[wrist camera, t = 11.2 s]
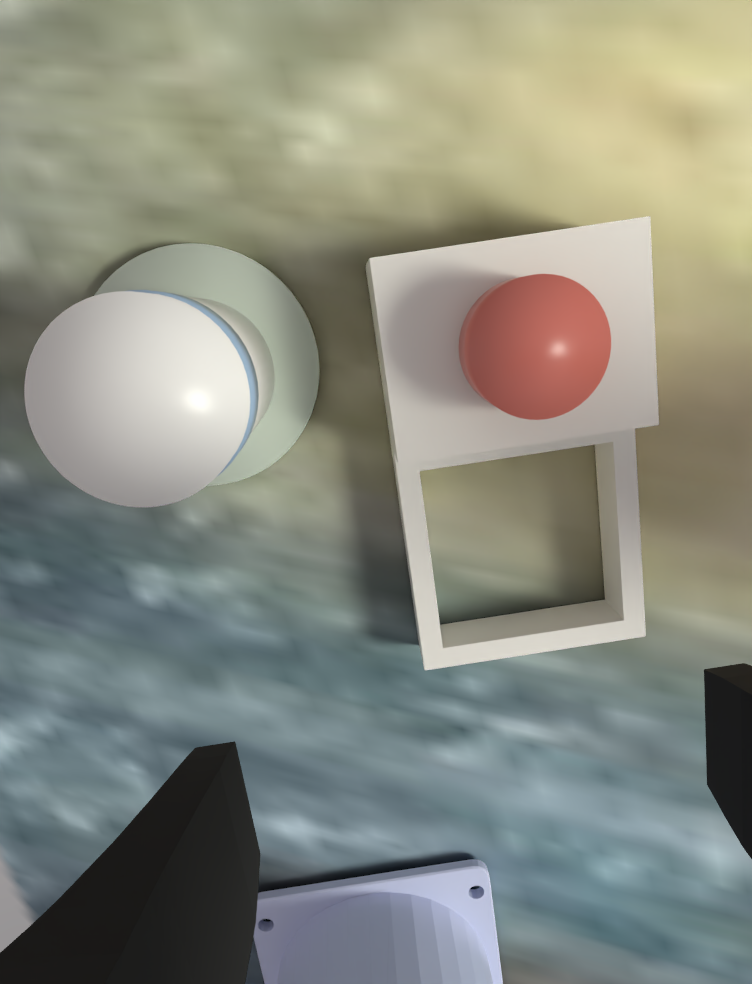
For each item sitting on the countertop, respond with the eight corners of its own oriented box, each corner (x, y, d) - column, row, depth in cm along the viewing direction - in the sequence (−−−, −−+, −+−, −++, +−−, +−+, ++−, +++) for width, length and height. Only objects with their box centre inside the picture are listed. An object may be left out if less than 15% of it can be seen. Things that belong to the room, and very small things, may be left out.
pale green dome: (336, 464, 20) (336, 467, 20) (113, 498, 20) (108, 502, 20) (297, 227, 18) (297, 226, 18) (55, 263, 18) (49, 262, 18)
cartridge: (292, 432, 19) (270, 484, 14) (147, 465, 19) (63, 530, 14) (254, 280, 18) (212, 264, 12) (101, 315, 18) (-11, 316, 13)
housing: (625, 614, 22) (668, 661, 19) (419, 646, 22) (431, 698, 19) (602, 230, 19) (650, 216, 16) (365, 266, 19) (369, 258, 16)
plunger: (561, 389, 19) (615, 408, 15) (451, 406, 19) (477, 429, 15) (552, 273, 18) (606, 263, 14) (437, 290, 18) (461, 285, 14)
